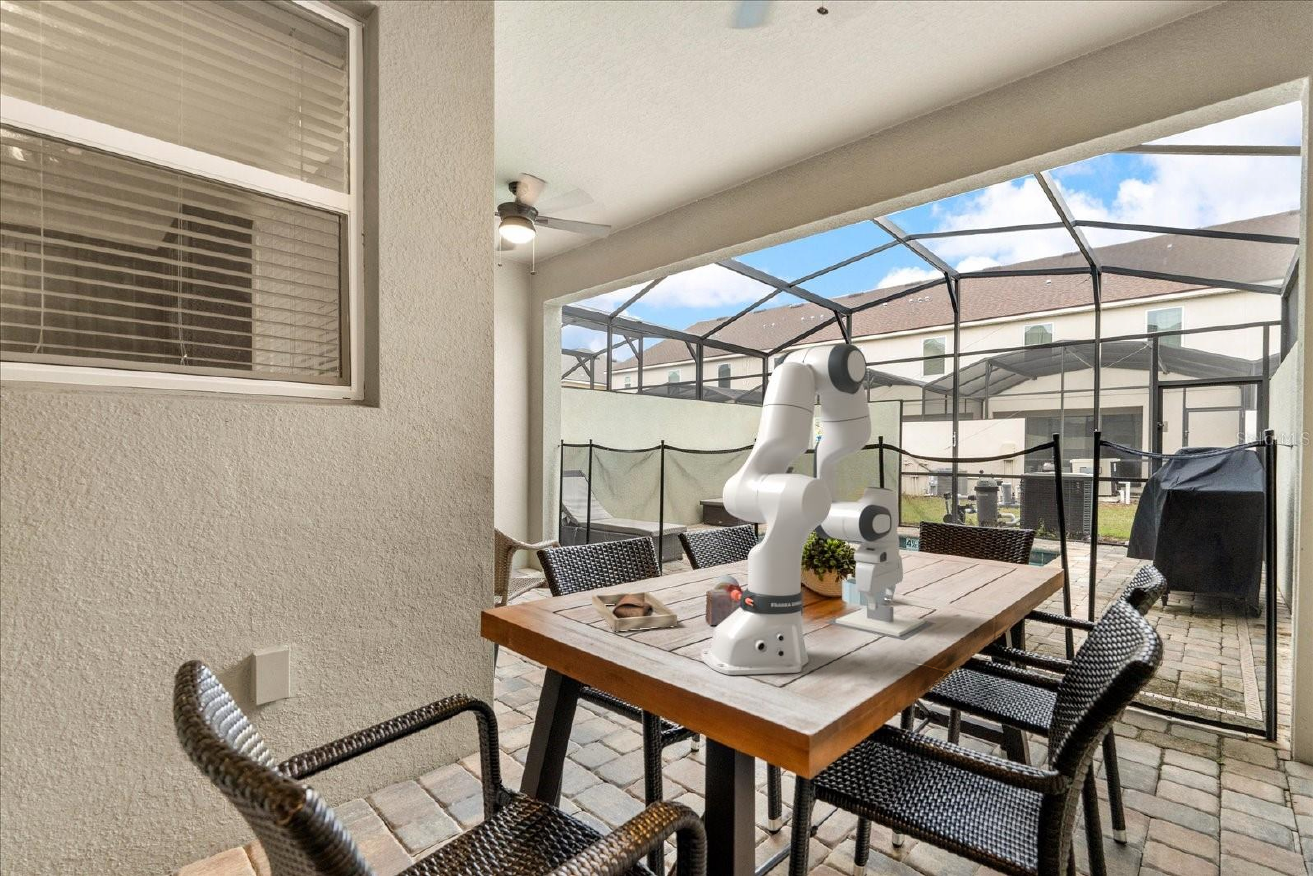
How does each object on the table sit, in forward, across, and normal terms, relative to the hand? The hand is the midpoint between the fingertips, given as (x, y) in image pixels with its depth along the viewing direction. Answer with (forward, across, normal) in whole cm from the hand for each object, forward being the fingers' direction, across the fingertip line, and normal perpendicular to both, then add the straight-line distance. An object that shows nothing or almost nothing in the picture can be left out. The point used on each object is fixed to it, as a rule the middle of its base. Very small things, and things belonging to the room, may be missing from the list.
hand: (881, 605), depth 152 cm
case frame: (+4, +40, -50) cm, 64 cm away
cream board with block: (+4, +1, 0) cm, 4 cm away
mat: (+5, +1, 0) cm, 5 cm away
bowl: (+5, -19, -13) cm, 24 cm away
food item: (+5, +26, -27) cm, 38 cm away
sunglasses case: (+4, +40, -50) cm, 64 cm away
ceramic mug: (+5, +10, -40) cm, 41 cm away
